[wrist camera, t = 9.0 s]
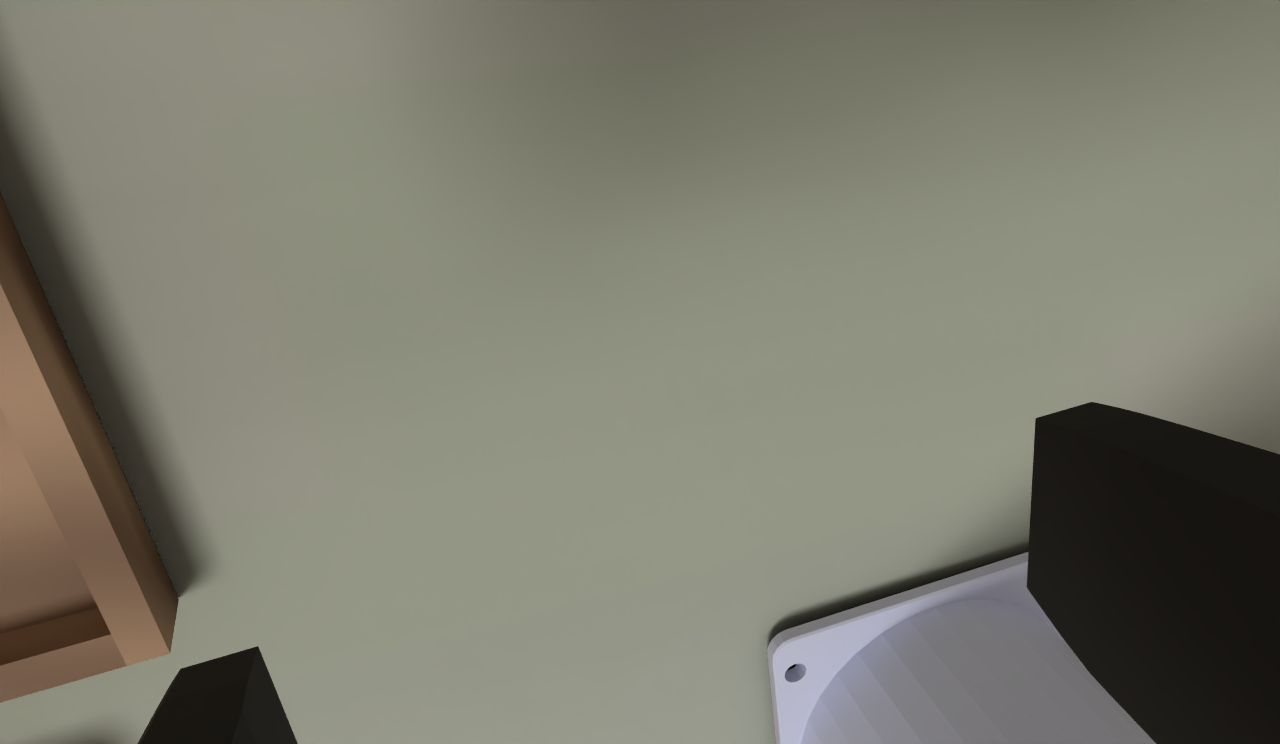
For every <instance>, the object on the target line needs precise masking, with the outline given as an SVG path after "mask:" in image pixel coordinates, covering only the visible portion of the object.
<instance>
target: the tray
mask: <svg viewBox="0 0 1280 744" xmlns="http://www.w3.org/2000/svg"><path fill="white" fill-rule="evenodd" d="M178 600H179V599H178V597H177V595H176V592H175V590H174V588H173V586H172V583H171V581H170V579H169V576H168V574H167V572H166V570H165V567H164V565H163V563H162V561H161V558H160V556H159V554H158V551H157V549H156V547H155V545H154V542H153V540H152V538H151V536H150V533H149V531H148V529H147V526H146V524H145V522H144V520H143V517H142V515H141V513H140V511H139V508H138V506H137V504H136V501H135V499H134V497H133V495H132V492H131V490H130V488H129V486H128V483H127V481H126V479H125V476H124V474H123V472H122V470H121V467H120V465H119V463H118V461H117V458H116V456H115V454H114V451H113V449H112V447H111V445H110V442H109V440H108V438H107V435H106V433H105V431H104V429H103V426H102V424H101V422H100V420H99V417H98V415H97V413H96V410H95V408H94V406H93V404H92V401H91V399H90V397H89V395H88V392H87V390H86V388H85V385H84V383H83V381H82V379H81V376H80V374H79V372H78V370H77V367H76V365H75V363H74V360H73V358H72V356H71V354H70V351H69V349H68V347H67V345H66V342H65V340H64V338H63V335H62V333H61V331H60V329H59V326H58V324H57V322H56V319H55V317H54V315H53V313H52V310H51V308H50V306H49V304H48V301H47V299H46V297H45V294H44V292H43V290H42V288H41V285H40V283H39V281H38V279H37V276H36V274H35V272H34V269H33V267H32V265H31V263H30V260H29V258H28V256H27V254H26V251H25V249H24V247H23V244H22V242H21V240H20V238H19V235H18V233H17V231H16V229H15V226H14V224H13V222H12V219H11V217H10V215H9V213H8V210H7V208H6V206H5V204H4V201H3V199H2V197H1V194H0V702H4V701H7V700H11V699H14V698H17V697H21V696H24V695H28V694H31V693H35V692H38V691H42V690H45V689H49V688H52V687H55V686H59V685H62V684H66V683H69V682H73V681H76V680H80V679H83V678H87V677H90V676H93V675H97V674H100V673H104V672H107V671H111V670H114V669H118V668H121V667H124V666H128V665H131V664H135V663H138V662H142V661H145V660H149V659H152V658H156V657H159V656H162V655H166V654H169V653H170V650H171V644H172V638H173V632H174V625H175V619H176V613H177V606H178Z"/></svg>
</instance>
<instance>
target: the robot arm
mask: <svg viewBox="0 0 1280 744" xmlns="http://www.w3.org/2000/svg"><path fill="white" fill-rule="evenodd" d="M767 656H768V666H769V676H770V686H771V696H772V706H773V716H774V726H775V736H776V744H1280V455H1279V454H1276V453H1273V452H1269V451H1266V450H1263V449H1260V448H1256V447H1253V446H1250V445H1246V444H1243V443H1240V442H1236V441H1233V440H1230V439H1227V438H1223V437H1220V436H1217V435H1213V434H1210V433H1207V432H1203V431H1200V430H1197V429H1193V428H1190V427H1187V426H1183V425H1180V424H1176V423H1173V422H1169V421H1166V420H1162V419H1159V418H1155V417H1152V416H1148V415H1144V414H1141V413H1137V412H1133V411H1129V410H1125V409H1121V408H1117V407H1112V406H1108V405H1103V404H1099V403H1094V402H1090V403H1087V404H1083V405H1080V406H1076V407H1073V408H1069V409H1066V410H1063V411H1059V412H1056V413H1052V414H1049V415H1046V416H1042V417H1039V418H1036V422H1035V440H1034V459H1033V477H1032V496H1031V514H1030V533H1029V552H1026V553H1023V554H1020V555H1017V556H1014V557H1010V558H1007V559H1004V560H1001V561H998V562H995V563H992V564H989V565H986V566H982V567H979V568H976V569H973V570H970V571H967V572H964V573H961V574H958V575H954V576H951V577H948V578H945V579H942V580H939V581H936V582H933V583H930V584H926V585H923V586H920V587H917V588H914V589H911V590H908V591H905V592H902V593H898V594H895V595H892V596H889V597H886V598H883V599H880V600H877V601H874V602H870V603H867V604H864V605H861V606H858V607H855V608H852V609H849V610H846V611H842V612H839V613H836V614H833V615H830V616H827V617H824V618H821V619H818V620H814V621H811V622H808V623H805V624H802V625H799V626H796V627H793V628H790V629H786V630H784V631H782V632H780V633H778V634H777V635H776V636H775V637H774V638H773V639H772V640H771V642H770V644H769V646H768V651H767ZM794 664H797V665H796V666H795V667H794V668H792V669H790V670H787V669H788V668H789V667H791V666H792V665H794ZM138 744H297V741H296V739H295V736H294V734H293V731H292V729H291V726H290V724H289V721H288V719H287V717H286V714H285V712H284V709H283V707H282V704H281V702H280V699H279V697H278V694H277V692H276V689H275V687H274V684H273V682H272V679H271V677H270V674H269V672H268V670H267V667H266V665H265V662H264V660H263V657H262V655H261V652H260V650H259V647H258V646H257V647H254V648H251V649H247V650H244V651H240V652H237V653H234V654H230V655H227V656H223V657H220V658H216V659H213V660H210V661H206V662H203V663H199V664H196V665H193V666H189V667H186V668H182V669H180V671H179V672H178V674H177V675H176V677H175V678H174V680H173V681H172V683H171V685H170V686H169V688H168V690H167V692H166V693H165V695H164V697H163V699H162V700H161V702H160V704H159V706H158V708H157V709H156V711H155V713H154V715H153V717H152V718H151V720H150V722H149V724H148V726H147V727H146V729H145V731H144V733H143V735H142V737H141V738H140V740H139V742H138Z"/></svg>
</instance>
